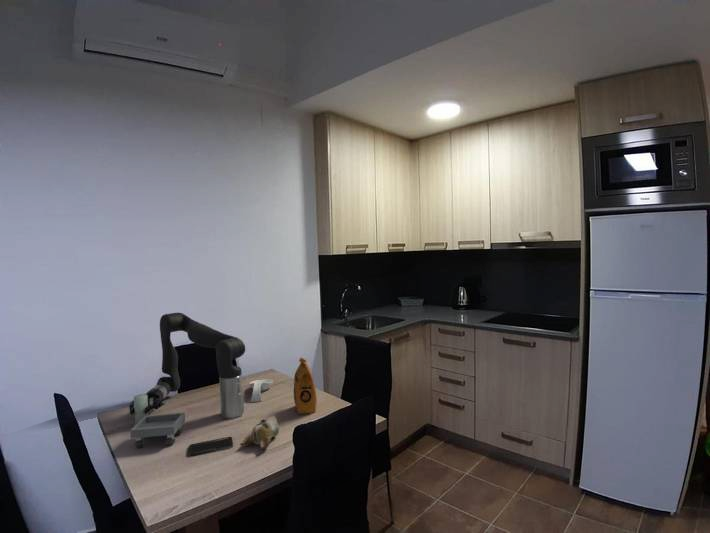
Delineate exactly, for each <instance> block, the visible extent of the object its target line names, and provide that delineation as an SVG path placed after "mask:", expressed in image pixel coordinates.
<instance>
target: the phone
mask: <svg viewBox="0 0 710 533" xmlns="http://www.w3.org/2000/svg"><path fill="white" fill-rule="evenodd" d="M233 447H234V442H233V437H232V436H228V437H222V438H216V439H211V440H206V441H201V442H195V443H191V444H190V445H189V446H188V450H187V452H188V453H187V457H196V456H200V455H205V454H209V453H214V452H221V451H225V450H229V449H232V448H233Z"/></svg>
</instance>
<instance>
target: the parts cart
mask: <svg viewBox="0 0 710 533" xmlns="http://www.w3.org/2000/svg"><path fill="white" fill-rule="evenodd" d="M185 422H186V413H185V412H180V413H166V414H152V415H149V416H144V417H143V418H142V419H141V420H140V421H139V422H138V423H137V424H136V425H134V426H133V427H132V428H131V429H130V430H129V432H130V439H135V442H134V447H136V448H137V449H139V448H142V447H143V446H144V445H145V440H144V439H143V438H150V437H160V436H161V437H162V436H163V437H164V436H167V437H166V445H168V446H170V445H174V444H175V442H176V437H175V435H177V436H178V435H180V434H182V433H183V427H182V425H183V424H184V423H185Z"/></svg>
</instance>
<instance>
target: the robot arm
mask: <svg viewBox="0 0 710 533" xmlns="http://www.w3.org/2000/svg"><path fill="white" fill-rule="evenodd" d="M175 332H185V333H186V334H187V337H188V339H189V341H190V342H191V343H194V344H196V345H197V346H200V347H204V348H212V349H215V357H216V369H217V371H218V376H219V397H220V398H219V400H220V417H221V418H223V419H235V418H238V417H242V416H243V414H244V413H245V412H244V411H245V401H244V389H243V384H242V383H243V379H242V376H243V375H242V368H241V367H240V366H237V365H233V360H236V359H239V358H241V357H242V356H243V355H245V353H246V345H245V343H244V342H243V340H242V339H240V338H239V337H236V336H233V335H230V334H227V333H226V334H225V333H223V332H220V331H219V330H217V329H214V328H212V327H210V326H208V325H206V324H203V323H201V322H198V321H197V320H194V319H192V318H190V317H189V316H188V315H186V314H184V313H181V312H172V313H165V314H163V315H161V317H160V319H159V333H160V334H159V335H160V343H161V351H162V354H161V355H162V356H161V358H162V359H161V372H162V373H163V374H165V375H168V376H161V377H159V378H158V380H157V382H156V385H155V386H154V387H153V388H151V389H150V390H148V391H147V392H146V393H145V394H147V395H148V406H147V407H146V408H145V414H146V413H150V412H151V411H153V410H159V408H162V407H163V406H164V405H165V404H166V398H167V396H168V395H169V394H170V393H173V392H174V393H176V392H177V391H179V389H180V387H181V378H180V375H179V369H178V364H179V354H178V352H177V350H176V348H175V347H174V345H173V343H172V341H171V335H172V334H171V333H175ZM129 414H130V415H131V416H134V415H135V412H134V400H131V402H130V404H129Z"/></svg>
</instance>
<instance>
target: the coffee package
mask: <svg viewBox="0 0 710 533" xmlns="http://www.w3.org/2000/svg"><path fill="white" fill-rule="evenodd" d="M298 360H299V362H300V363H299V366H298V367H297V369H296V371H295V373H294V379H293V401H294V404H295V405H294V406H295V407H296V411H297V413H298V414H299V415H308V414H315V413H316V412H317V405H318V404H317V390H316V385H315V381H314V377H313V376H312V372H311V369H310V366H309V365H308V364H307V360H306V359H305V358H303V357H299V359H298Z"/></svg>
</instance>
